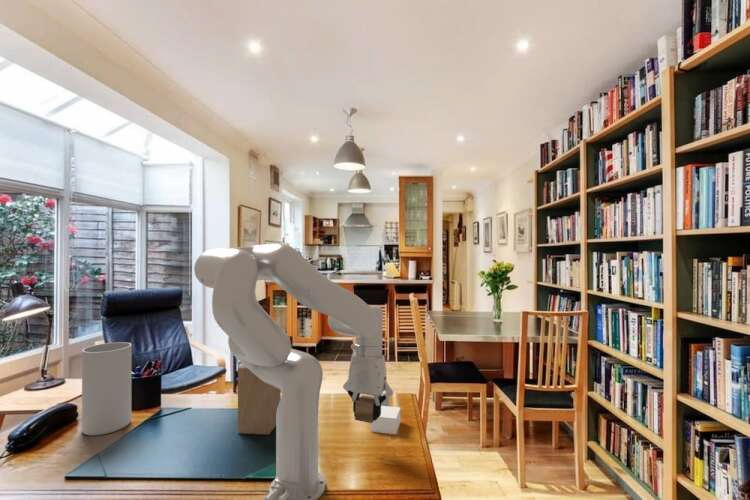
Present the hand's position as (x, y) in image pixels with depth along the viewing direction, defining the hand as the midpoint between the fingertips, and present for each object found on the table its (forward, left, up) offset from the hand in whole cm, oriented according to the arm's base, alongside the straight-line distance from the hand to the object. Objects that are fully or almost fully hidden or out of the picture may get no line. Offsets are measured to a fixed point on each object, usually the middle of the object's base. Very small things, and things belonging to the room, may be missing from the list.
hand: (366, 415), depth 100 cm
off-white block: (+15, 0, -10) cm, 18 cm away
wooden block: (+1, +37, -10) cm, 38 cm away
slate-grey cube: (+26, +6, -10) cm, 28 cm away
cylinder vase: (-16, +82, -10) cm, 84 cm away
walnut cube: (0, 0, -1) cm, 1 cm away
